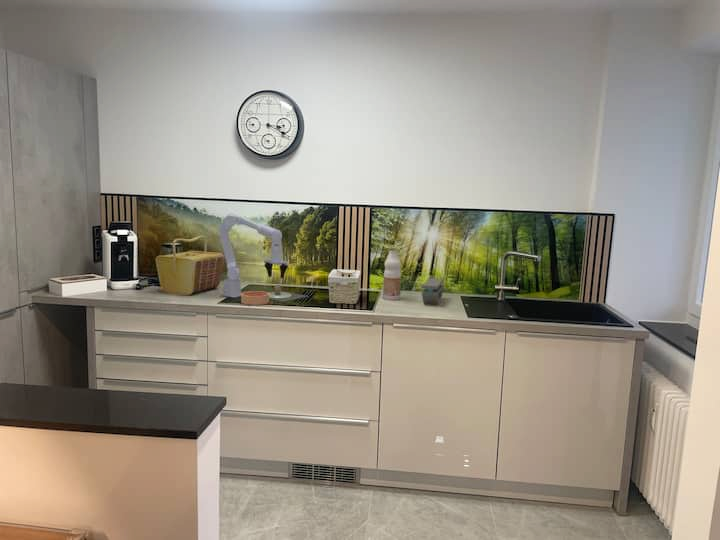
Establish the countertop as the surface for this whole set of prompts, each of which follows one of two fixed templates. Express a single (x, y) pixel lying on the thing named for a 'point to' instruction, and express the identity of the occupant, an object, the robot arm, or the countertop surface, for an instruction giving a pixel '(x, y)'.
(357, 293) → the storage basket
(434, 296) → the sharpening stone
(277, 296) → the lid
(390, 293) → the fruit juice
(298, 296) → the rubber mat
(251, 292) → the bowl
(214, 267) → the picnic basket
